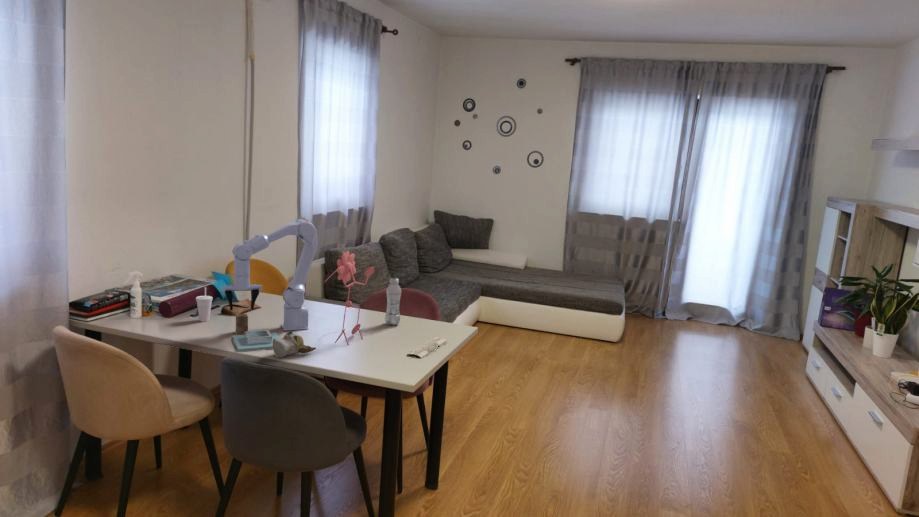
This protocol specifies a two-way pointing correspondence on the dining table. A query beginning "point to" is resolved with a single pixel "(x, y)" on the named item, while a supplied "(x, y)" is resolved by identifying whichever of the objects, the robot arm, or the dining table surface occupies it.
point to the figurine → (345, 271)
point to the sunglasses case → (239, 308)
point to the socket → (257, 337)
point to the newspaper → (427, 347)
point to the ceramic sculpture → (290, 345)
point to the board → (243, 346)
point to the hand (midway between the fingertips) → (241, 309)
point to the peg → (241, 323)
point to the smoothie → (204, 307)
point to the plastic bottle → (393, 302)
